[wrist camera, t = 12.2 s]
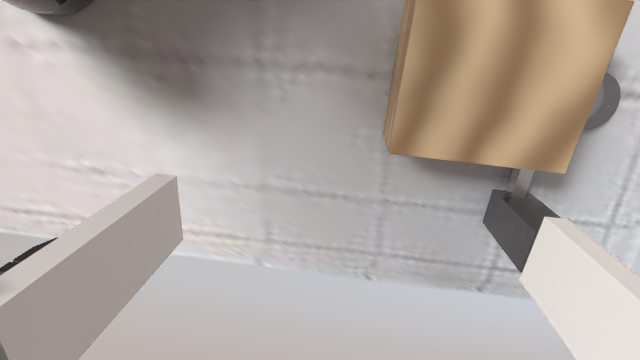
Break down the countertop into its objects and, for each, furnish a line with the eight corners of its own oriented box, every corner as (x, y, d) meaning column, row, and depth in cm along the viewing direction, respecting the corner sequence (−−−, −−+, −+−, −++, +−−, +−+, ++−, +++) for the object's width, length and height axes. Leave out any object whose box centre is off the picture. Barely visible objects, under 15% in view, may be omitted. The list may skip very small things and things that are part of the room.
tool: (482, 222, 41) (520, 272, 31) (537, 47, 33) (608, 44, 24) (519, 226, 40) (568, 278, 31) (583, 51, 33) (672, 50, 23)
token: (539, 123, 36) (546, 126, 35) (561, 67, 34) (569, 67, 32) (595, 131, 36) (604, 134, 34) (620, 75, 33) (631, 75, 32)
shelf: (383, 133, 38) (389, 153, 31) (405, -1, 33) (419, -17, 25) (523, 149, 37) (565, 173, 29) (569, 13, 32) (634, 0, 24)
